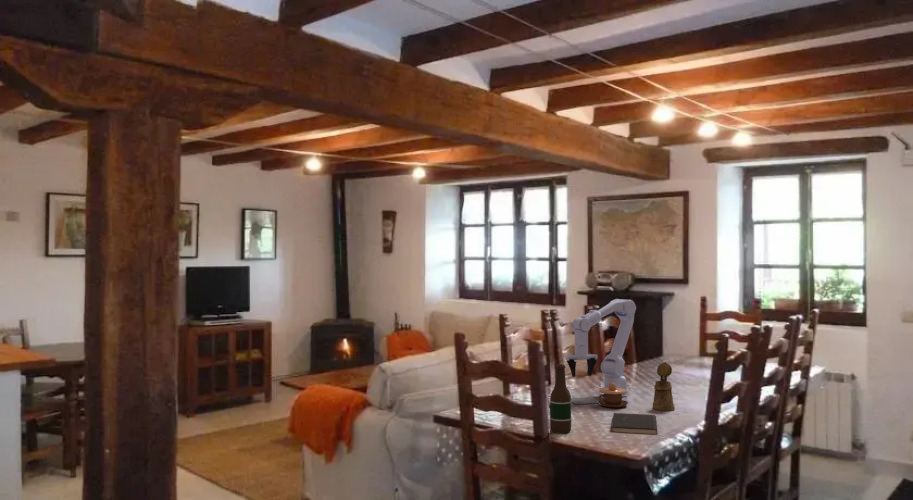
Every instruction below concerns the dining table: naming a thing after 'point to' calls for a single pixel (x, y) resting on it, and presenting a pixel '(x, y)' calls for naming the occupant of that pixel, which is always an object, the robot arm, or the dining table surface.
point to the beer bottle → (560, 403)
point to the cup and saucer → (612, 400)
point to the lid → (612, 389)
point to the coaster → (584, 401)
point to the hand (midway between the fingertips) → (581, 376)
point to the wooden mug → (663, 389)
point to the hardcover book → (634, 423)
